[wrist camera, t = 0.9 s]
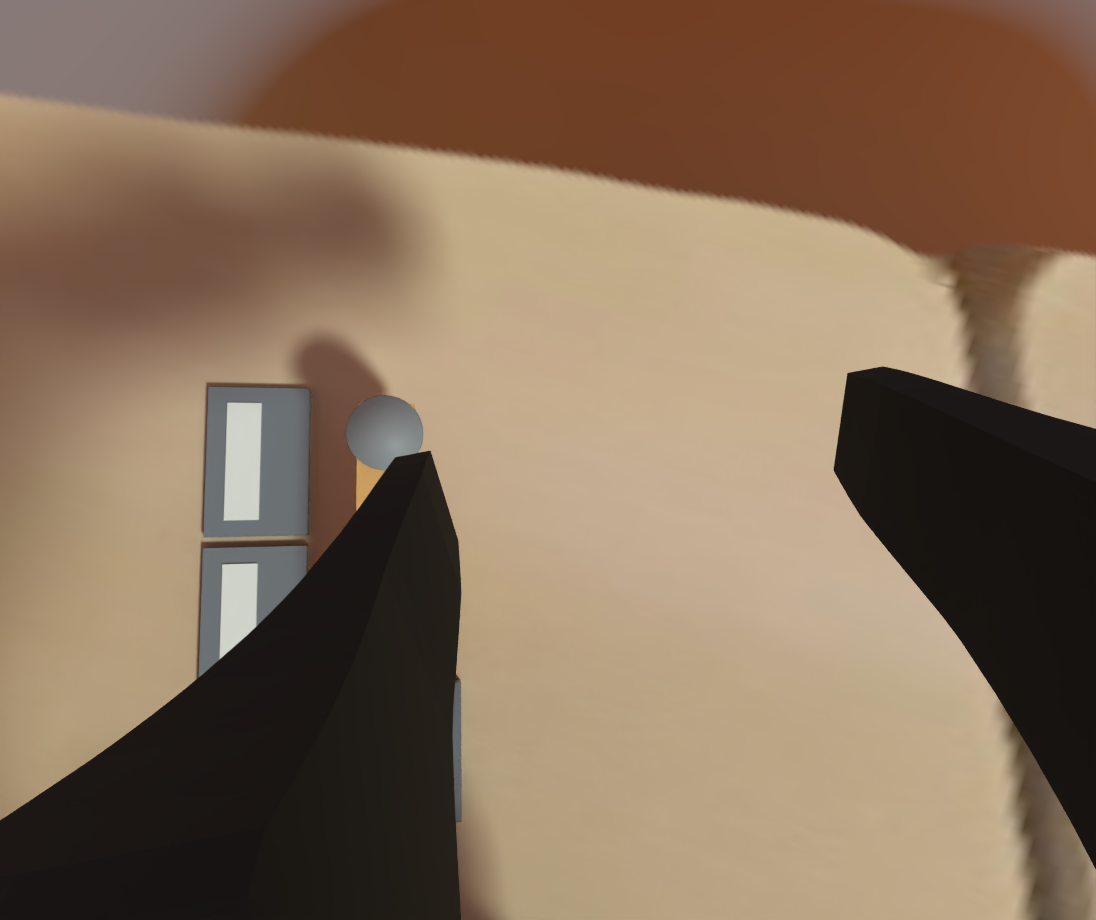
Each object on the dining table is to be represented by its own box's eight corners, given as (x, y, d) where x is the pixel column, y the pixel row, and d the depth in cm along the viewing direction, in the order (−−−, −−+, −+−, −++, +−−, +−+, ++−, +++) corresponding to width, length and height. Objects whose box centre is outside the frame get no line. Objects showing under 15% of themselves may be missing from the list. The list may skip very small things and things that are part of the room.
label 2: (305, 697, 23) (303, 700, 23) (200, 703, 22) (196, 707, 22) (308, 545, 23) (306, 545, 23) (205, 548, 23) (202, 548, 22)
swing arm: (436, 818, 21) (436, 858, 19) (339, 829, 21) (326, 870, 18) (435, 409, 23) (435, 396, 20) (345, 408, 22) (333, 394, 20)
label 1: (308, 535, 24) (306, 535, 23) (206, 537, 23) (202, 537, 23) (310, 390, 24) (308, 388, 24) (211, 388, 23) (207, 386, 23)
